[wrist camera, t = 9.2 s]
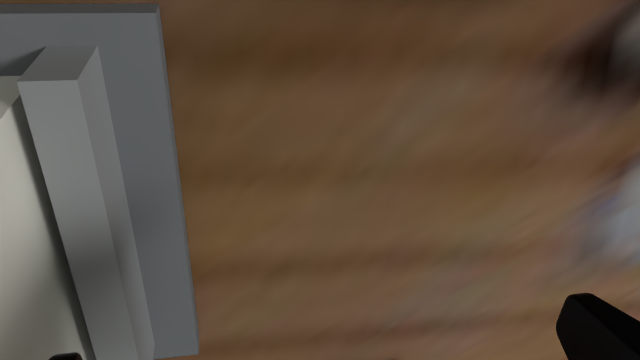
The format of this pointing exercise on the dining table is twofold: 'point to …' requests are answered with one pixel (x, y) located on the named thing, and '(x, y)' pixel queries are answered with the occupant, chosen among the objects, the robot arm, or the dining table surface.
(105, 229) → the clip plinth
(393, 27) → the dining table surface
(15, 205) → the white rectangular block
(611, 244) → the dining table surface
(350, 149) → the dining table surface
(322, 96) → the dining table surface
